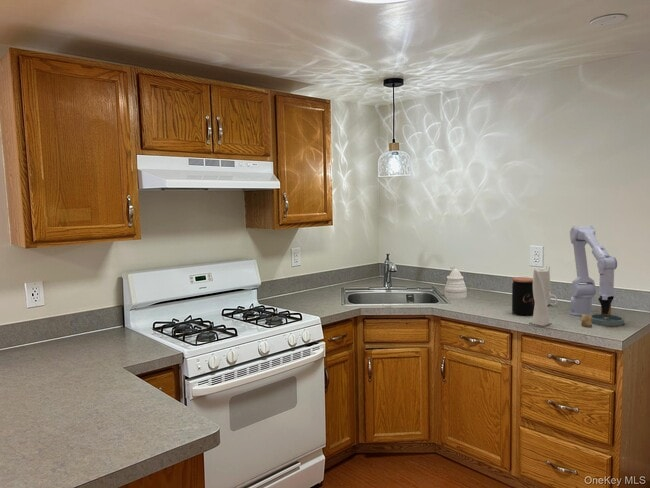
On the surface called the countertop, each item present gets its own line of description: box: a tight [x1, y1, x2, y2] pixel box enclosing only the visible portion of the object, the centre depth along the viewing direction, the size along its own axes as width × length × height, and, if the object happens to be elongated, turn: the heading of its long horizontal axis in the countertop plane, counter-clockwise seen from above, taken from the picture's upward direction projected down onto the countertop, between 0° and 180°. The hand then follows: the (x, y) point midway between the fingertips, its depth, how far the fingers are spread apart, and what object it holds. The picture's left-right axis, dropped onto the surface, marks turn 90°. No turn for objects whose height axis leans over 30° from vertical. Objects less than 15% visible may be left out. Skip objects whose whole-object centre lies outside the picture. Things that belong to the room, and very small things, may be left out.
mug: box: [547, 291, 558, 306], centre depth 272 cm, size 12×8×8 cm
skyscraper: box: [529, 265, 552, 328], centre depth 232 cm, size 8×8×28 cm
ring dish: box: [591, 313, 625, 327], centre depth 234 cm, size 14×14×2 cm
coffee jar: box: [511, 276, 535, 317], centre depth 254 cm, size 11×11×18 cm
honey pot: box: [444, 265, 468, 299], centre depth 301 cm, size 13×13×18 cm
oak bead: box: [580, 314, 592, 328], centre depth 229 cm, size 4×4×5 cm
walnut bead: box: [600, 304, 612, 317], centre depth 230 cm, size 4×4×5 cm
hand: (605, 312), depth 231 cm, fingers closed on walnut bead, 4 cm apart
